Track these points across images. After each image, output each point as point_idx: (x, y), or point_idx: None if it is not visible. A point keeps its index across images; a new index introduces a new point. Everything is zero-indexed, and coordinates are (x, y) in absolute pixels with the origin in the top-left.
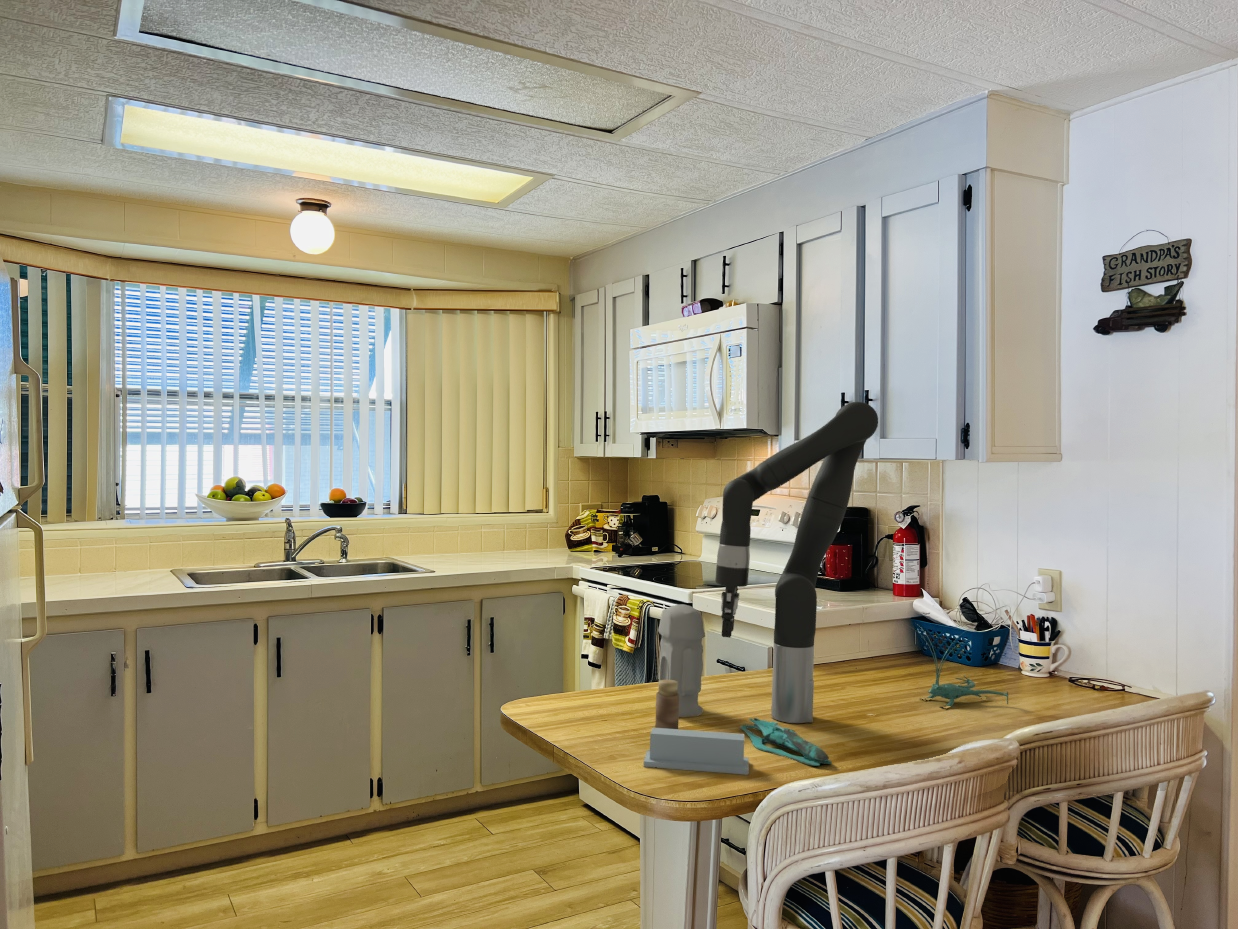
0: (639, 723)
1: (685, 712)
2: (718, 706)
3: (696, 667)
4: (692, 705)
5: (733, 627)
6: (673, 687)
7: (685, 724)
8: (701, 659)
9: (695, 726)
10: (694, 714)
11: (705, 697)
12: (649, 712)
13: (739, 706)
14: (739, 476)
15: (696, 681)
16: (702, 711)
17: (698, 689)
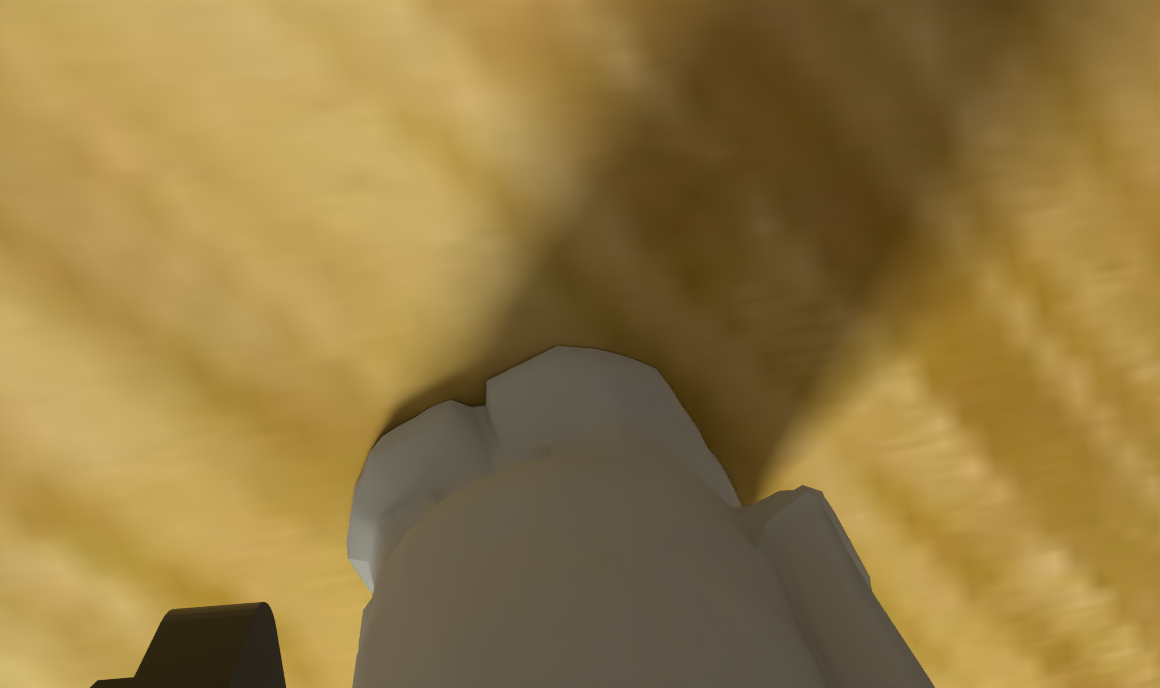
0: (926, 665)
1: (713, 461)
2: (292, 249)
3: (779, 644)
4: (676, 444)
5: (240, 661)
6: None
7: (894, 409)
8: (691, 671)
9: (931, 336)
10: (673, 393)
11: (35, 399)
12: None
13: (199, 56)
14: None
15: (701, 541)
16: (562, 350)
17: (645, 478)
